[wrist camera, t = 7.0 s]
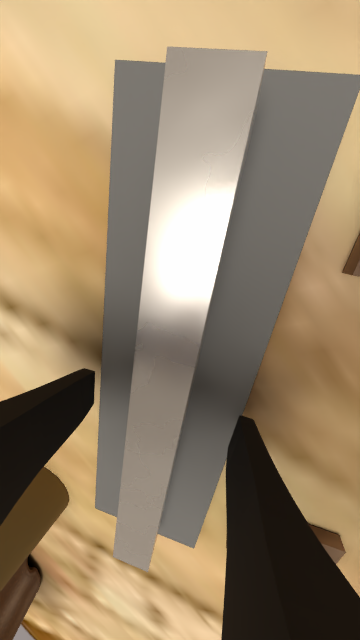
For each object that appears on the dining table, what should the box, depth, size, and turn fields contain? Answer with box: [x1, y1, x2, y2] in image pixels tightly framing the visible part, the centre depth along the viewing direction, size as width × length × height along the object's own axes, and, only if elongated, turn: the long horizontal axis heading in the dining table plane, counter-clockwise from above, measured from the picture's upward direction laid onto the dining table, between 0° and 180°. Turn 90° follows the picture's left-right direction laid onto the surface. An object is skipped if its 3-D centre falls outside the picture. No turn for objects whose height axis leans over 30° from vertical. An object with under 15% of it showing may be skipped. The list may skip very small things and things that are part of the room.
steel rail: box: [113, 47, 267, 572], centre depth 11 cm, size 2×24×2 cm, turn 171°
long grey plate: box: [95, 60, 360, 548], centre depth 12 cm, size 8×26×1 cm, turn 171°
